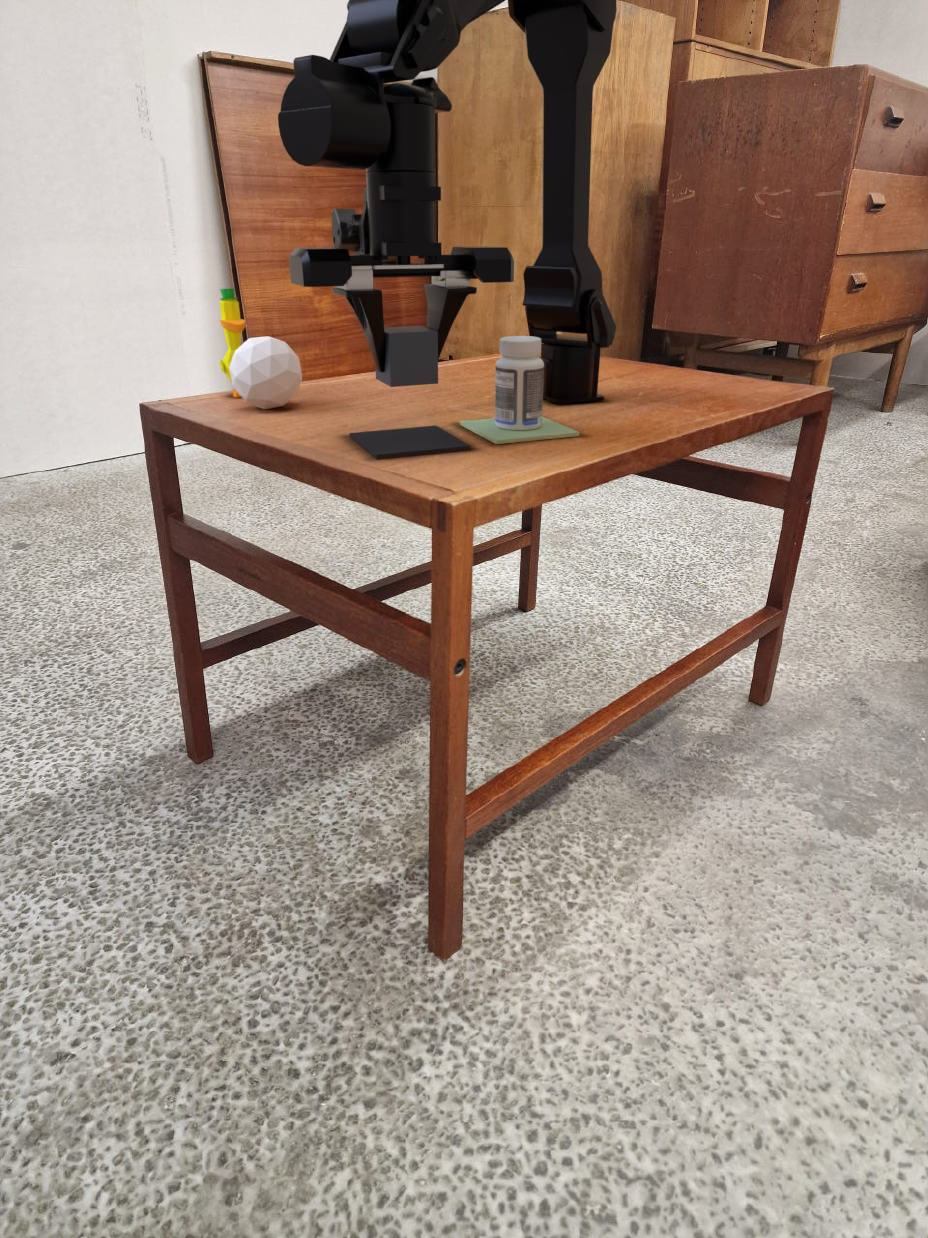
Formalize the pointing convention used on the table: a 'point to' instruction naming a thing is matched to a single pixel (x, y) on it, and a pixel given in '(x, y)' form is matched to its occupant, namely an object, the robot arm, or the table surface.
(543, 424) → the sage mat
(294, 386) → the geometric ball
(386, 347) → the slate block
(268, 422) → the table surface
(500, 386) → the pill bottle
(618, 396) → the table surface
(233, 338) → the toy figure
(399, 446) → the charcoal mat
